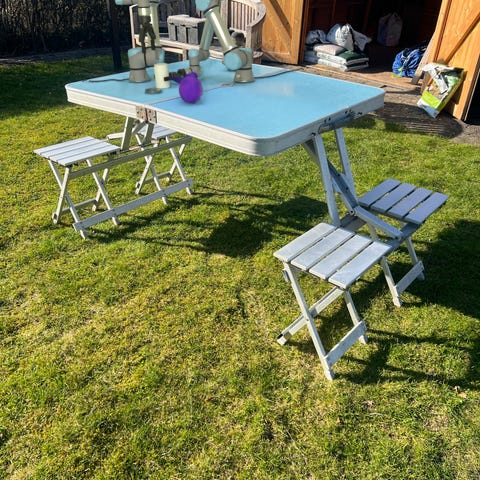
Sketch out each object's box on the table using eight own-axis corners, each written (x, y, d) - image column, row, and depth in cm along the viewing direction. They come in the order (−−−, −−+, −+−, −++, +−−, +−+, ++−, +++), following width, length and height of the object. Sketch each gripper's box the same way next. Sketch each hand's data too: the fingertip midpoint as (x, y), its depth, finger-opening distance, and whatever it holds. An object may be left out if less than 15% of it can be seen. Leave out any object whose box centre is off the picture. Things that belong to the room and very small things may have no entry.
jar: (167, 84, 326) (165, 62, 318) (172, 87, 318) (169, 64, 310) (154, 86, 322) (151, 63, 314) (158, 88, 314) (155, 65, 307)
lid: (142, 94, 301) (142, 91, 300) (149, 90, 311) (148, 87, 310) (158, 94, 299) (158, 91, 298) (164, 90, 309) (163, 88, 308)
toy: (192, 94, 296) (203, 108, 275) (166, 89, 289) (175, 104, 268) (197, 69, 288) (208, 82, 267) (170, 64, 281) (180, 77, 260)
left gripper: (141, 17, 270) (145, 54, 281) (158, 14, 291) (162, 49, 302) (130, 17, 272) (134, 54, 283) (148, 14, 293) (152, 49, 303)
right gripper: (194, 81, 320) (168, 86, 309) (175, 77, 337) (150, 81, 325) (193, 70, 317) (167, 74, 305) (174, 66, 333) (149, 70, 322)
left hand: (149, 51), depth 292 cm, fingers open, 13 cm apart
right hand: (158, 78), depth 315 cm, fingers open, 13 cm apart
